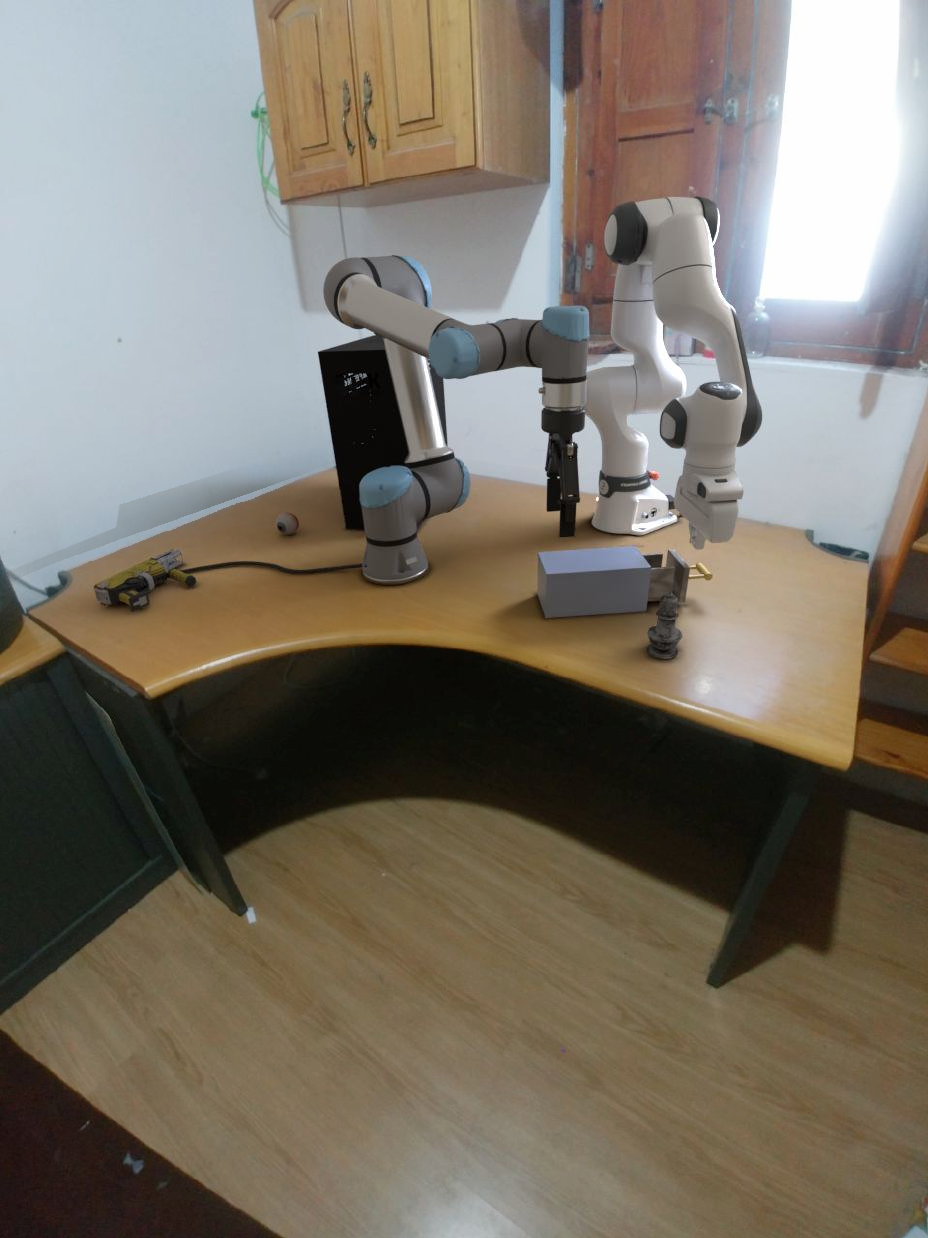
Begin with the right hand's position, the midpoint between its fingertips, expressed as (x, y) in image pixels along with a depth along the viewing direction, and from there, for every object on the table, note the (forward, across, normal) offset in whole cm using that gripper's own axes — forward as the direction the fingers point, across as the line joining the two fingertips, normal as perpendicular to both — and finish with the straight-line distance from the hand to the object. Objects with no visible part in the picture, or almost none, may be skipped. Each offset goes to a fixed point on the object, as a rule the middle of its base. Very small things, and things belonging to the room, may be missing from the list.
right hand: (696, 546), depth 118 cm
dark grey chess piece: (+11, +20, -12) cm, 25 cm away
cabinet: (+11, 0, -20) cm, 23 cm away
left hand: (-7, 0, -27) cm, 28 cm away
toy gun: (+11, -21, -116) cm, 118 cm away
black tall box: (+11, -66, -62) cm, 91 cm away
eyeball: (+11, -50, -92) cm, 105 cm away
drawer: (+10, 0, -9) cm, 13 cm away
